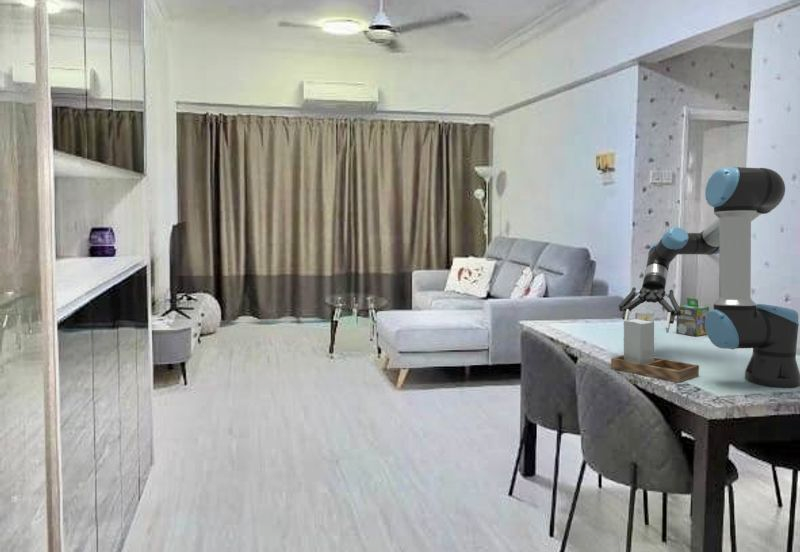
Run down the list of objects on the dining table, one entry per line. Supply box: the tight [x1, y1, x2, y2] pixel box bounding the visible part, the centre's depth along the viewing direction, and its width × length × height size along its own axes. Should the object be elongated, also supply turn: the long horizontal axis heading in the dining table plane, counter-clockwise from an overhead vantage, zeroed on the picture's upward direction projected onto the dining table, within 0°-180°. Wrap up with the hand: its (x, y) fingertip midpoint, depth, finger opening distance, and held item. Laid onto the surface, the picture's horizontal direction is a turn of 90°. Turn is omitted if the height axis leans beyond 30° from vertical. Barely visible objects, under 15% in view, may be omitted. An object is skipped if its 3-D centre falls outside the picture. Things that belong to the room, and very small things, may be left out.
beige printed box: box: [634, 312, 655, 323], centre depth 280 cm, size 4×7×10 cm, turn 81°
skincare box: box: [623, 318, 655, 364], centre depth 229 cm, size 8×6×15 cm
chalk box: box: [675, 297, 710, 337], centre depth 289 cm, size 9×9×15 cm
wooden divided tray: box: [610, 354, 700, 383], centre depth 226 cm, size 23×13×3 cm, turn 41°
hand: (645, 328), depth 238 cm, fingers open, 13 cm apart
